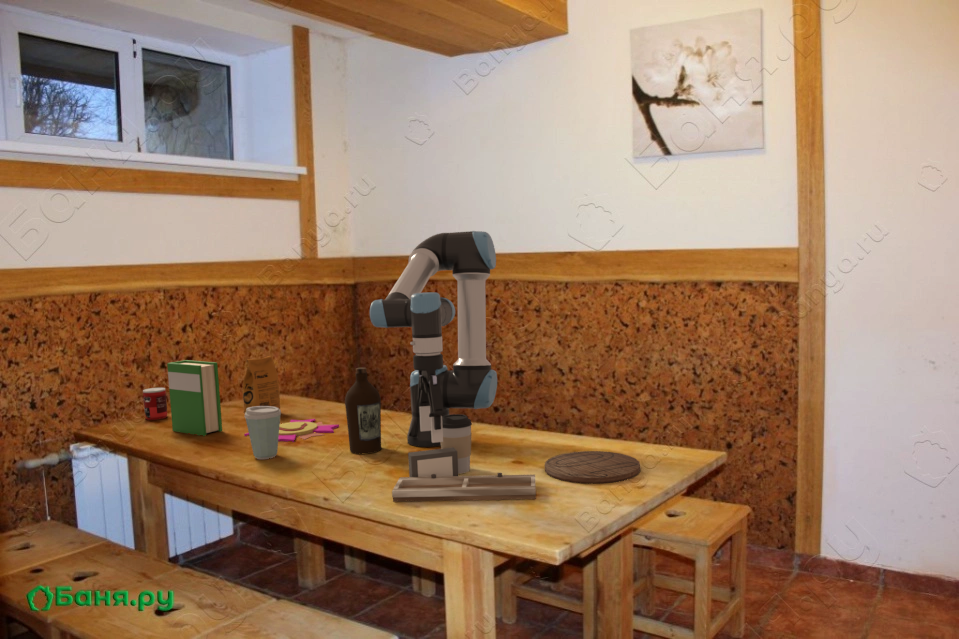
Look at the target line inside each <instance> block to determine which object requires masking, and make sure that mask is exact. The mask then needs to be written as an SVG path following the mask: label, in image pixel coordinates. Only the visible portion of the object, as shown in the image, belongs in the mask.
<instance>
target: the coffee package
mask: <svg viewBox="0 0 959 639" xmlns="http://www.w3.org/2000/svg"><path fill="white" fill-rule="evenodd" d="M246 364H247V367H246V373H245V375H244V378H243V382H242V390H241V391H242V402H243V414H244V415H245V413H246V409H247V408H249V407H254V406H272V407H277V408H279V409H280V410H281V399H280V398H281V397H280V383H279V375H278V371H277V368H276V365H275V363H274V360H273V357H272V355H268V356H265V357H262V358H247V359H246Z"/></svg>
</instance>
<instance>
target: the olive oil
mask: <svg viewBox="0 0 959 639" xmlns="http://www.w3.org/2000/svg"><path fill="white" fill-rule="evenodd" d="M381 400H382V399H381V394H380V392H379V390H378V389H377V388H376V387H375V386H374V385H373V384H372V383H371V382H370V381H368V372H367V368H366V367H365V366H364V367H357V368H355V381H354V383H353V384H352V385H351V386H350V388H349V389H348V390H347V392H346V394H345V398H344V406H345V413H346V414H345V416H346V421H347V422H346V423H347V432H348V445H349V452H350V453H352V454H355V453H356V455H357V454H358V455H363V454H362V453H368V454H374V453H377V452H379V451H381V449H382V420H381V419H382V416H381V414H382V413H381V412H382V409H381V406H382V404H381V402H382V401H381ZM359 453H360V454H359Z"/></svg>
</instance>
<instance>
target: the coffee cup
mask: <svg viewBox="0 0 959 639" xmlns="http://www.w3.org/2000/svg"><path fill="white" fill-rule="evenodd" d="M472 425H473V423H472V420H471V419H470V418H469V417H468V415H466V414H461V413H460V414H459V413H458V414H457V413H455V414H454V413H453V414H449V415H446V416H443V417H442V427H443V442H440V443H441V446H440V449H444V448H452V447H454V448H455V449H456V450H457V455H458V475H459V474H464V473H465V474H466V473H468V472H469V471H470V469H471V455H472Z"/></svg>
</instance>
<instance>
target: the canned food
mask: <svg viewBox="0 0 959 639" xmlns="http://www.w3.org/2000/svg"><path fill="white" fill-rule="evenodd" d="M142 400H143V408H144V409H143V410H144V411H143V412H144V418H145V419H146V420H148V421H155V420H156V421H157V420H162V419H166V418H167V417H168V406H167V402H168V401H167V390H166V388H165V387H151V388H150V387H149V388H145V389H143V390H142Z"/></svg>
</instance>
